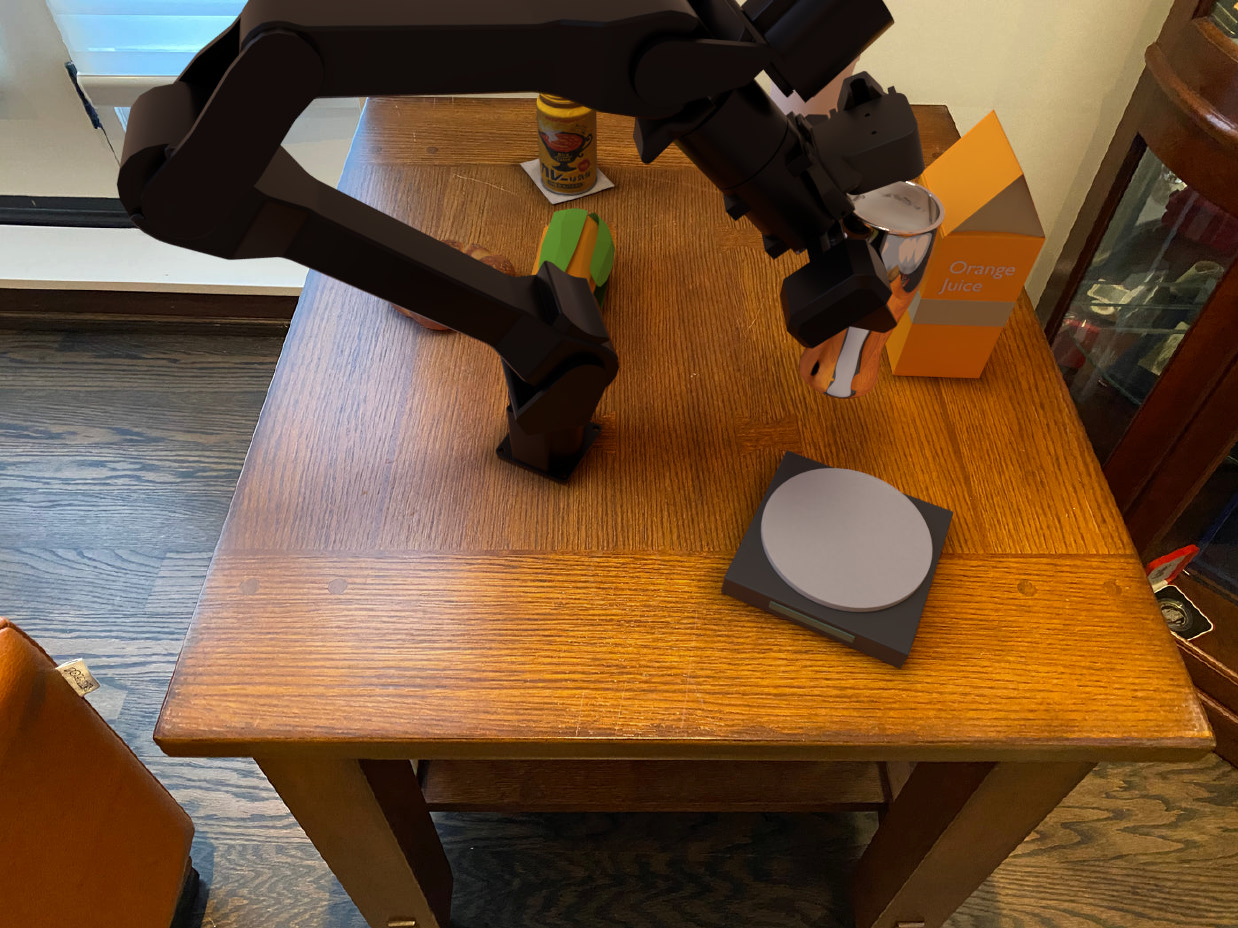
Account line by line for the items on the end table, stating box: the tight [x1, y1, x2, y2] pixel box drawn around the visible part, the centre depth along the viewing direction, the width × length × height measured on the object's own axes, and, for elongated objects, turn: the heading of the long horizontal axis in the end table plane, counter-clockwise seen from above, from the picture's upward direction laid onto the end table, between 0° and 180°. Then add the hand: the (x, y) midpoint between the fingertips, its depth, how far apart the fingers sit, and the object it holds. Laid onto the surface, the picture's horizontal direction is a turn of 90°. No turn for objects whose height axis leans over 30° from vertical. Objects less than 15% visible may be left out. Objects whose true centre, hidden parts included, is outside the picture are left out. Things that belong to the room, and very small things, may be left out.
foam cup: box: [769, 54, 862, 118], centre depth 94 cm, size 10×9×13 cm
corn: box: [530, 207, 616, 311], centre depth 77 cm, size 7×8×20 cm
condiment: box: [519, 93, 615, 205], centre depth 89 cm, size 7×8×12 cm
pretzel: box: [389, 238, 517, 331], centre depth 80 cm, size 12×11×4 cm
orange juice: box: [885, 107, 1047, 379], centre depth 70 cm, size 8×9×20 cm
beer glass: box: [798, 180, 945, 400], centre depth 62 cm, size 7×7×15 cm
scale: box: [720, 450, 954, 669], centre depth 62 cm, size 13×13×3 cm
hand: (880, 295), depth 62 cm, fingers closed on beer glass, 7 cm apart
